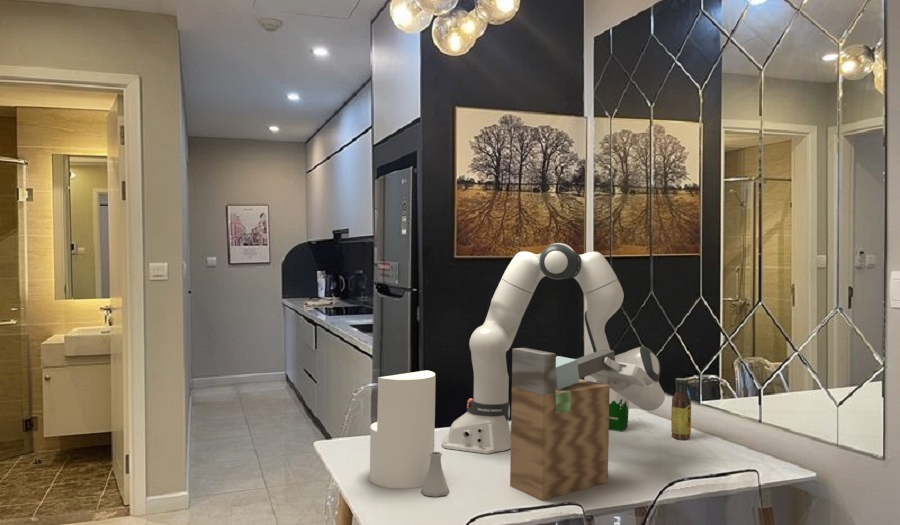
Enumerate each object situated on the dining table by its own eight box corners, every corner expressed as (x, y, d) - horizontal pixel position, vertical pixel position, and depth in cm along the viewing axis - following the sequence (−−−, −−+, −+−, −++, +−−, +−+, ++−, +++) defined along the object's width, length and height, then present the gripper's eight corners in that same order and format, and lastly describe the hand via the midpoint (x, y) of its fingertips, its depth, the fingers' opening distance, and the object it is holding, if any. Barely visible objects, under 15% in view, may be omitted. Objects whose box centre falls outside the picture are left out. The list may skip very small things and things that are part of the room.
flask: (448, 487, 168) (449, 448, 168) (449, 497, 161) (450, 457, 160) (420, 487, 168) (421, 448, 167) (420, 497, 160) (421, 457, 160)
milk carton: (598, 428, 229) (599, 372, 228) (607, 423, 236) (608, 368, 236) (623, 432, 224) (624, 374, 224) (631, 427, 232) (632, 371, 231)
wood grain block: (542, 500, 159) (545, 354, 159) (509, 485, 170) (511, 348, 169) (608, 482, 173) (611, 348, 173) (574, 469, 183) (576, 342, 183)
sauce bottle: (692, 441, 215) (693, 381, 215) (672, 439, 216) (673, 380, 216) (689, 435, 221) (690, 377, 221) (669, 434, 222) (670, 376, 222)
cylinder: (446, 478, 175) (448, 374, 174) (397, 493, 163) (399, 382, 162) (405, 462, 187) (407, 366, 187) (356, 476, 175) (358, 372, 175)
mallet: (557, 390, 166) (555, 367, 165) (539, 385, 171) (536, 363, 171) (619, 365, 179) (617, 344, 178) (600, 362, 185) (598, 341, 184)
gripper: (651, 395, 176) (622, 374, 169) (594, 383, 193) (566, 363, 186) (659, 374, 178) (630, 352, 171) (602, 364, 195) (574, 343, 188)
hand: (596, 358), depth 179 cm, fingers closed on mallet, 4 cm apart
